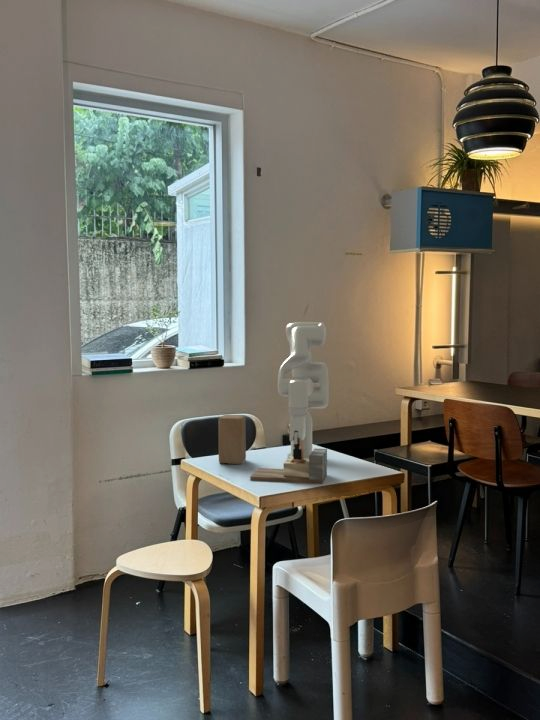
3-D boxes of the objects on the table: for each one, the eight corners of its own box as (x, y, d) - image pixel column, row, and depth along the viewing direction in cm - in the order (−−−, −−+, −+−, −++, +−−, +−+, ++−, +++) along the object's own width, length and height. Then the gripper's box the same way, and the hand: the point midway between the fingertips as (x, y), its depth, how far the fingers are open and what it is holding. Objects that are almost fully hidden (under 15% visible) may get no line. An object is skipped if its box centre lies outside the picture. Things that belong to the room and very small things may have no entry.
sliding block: (288, 470, 277) (288, 457, 276) (313, 471, 275) (313, 458, 274) (283, 476, 267) (283, 463, 267) (309, 477, 265) (309, 464, 264)
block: (240, 465, 293) (240, 418, 292) (218, 464, 295) (217, 417, 294) (246, 459, 303) (246, 414, 301) (224, 458, 305) (223, 414, 303)
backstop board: (258, 471, 281) (258, 446, 281) (326, 474, 276) (326, 448, 275) (250, 480, 268) (250, 453, 267) (322, 483, 262) (322, 456, 261)
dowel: (294, 468, 273) (294, 435, 272) (304, 468, 272) (304, 436, 271) (292, 470, 269) (292, 437, 268) (302, 471, 268) (302, 437, 267)
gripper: (292, 408, 278) (292, 453, 279) (284, 414, 261) (285, 462, 263) (311, 408, 276) (311, 453, 278) (304, 415, 260) (304, 463, 261)
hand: (298, 457), depth 270 cm, fingers closed on dowel, 4 cm apart
